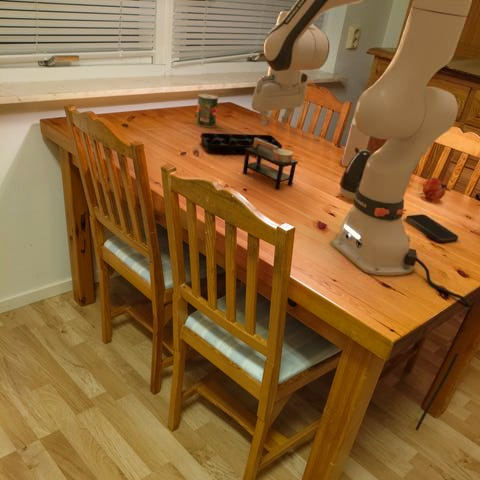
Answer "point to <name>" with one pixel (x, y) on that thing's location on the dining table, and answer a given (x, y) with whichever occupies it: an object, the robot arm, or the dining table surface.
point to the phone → (431, 228)
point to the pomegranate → (433, 189)
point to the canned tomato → (207, 110)
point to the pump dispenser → (354, 174)
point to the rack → (267, 170)
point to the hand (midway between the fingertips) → (274, 124)
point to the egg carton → (233, 142)
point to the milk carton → (354, 143)
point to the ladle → (275, 151)
